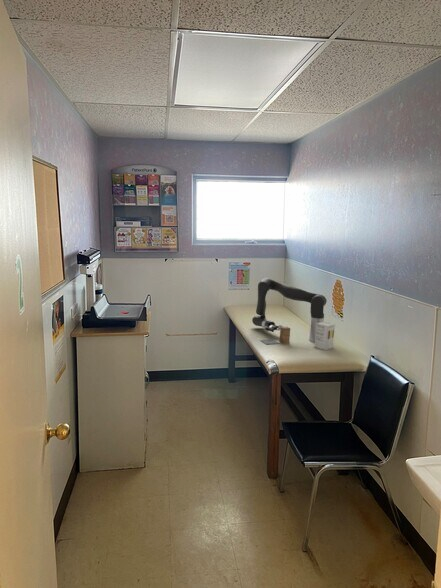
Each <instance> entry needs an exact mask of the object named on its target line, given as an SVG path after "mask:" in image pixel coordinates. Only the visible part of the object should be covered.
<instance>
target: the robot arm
mask: <svg viewBox="0 0 441 588" xmlns="http://www.w3.org/2000/svg"><path fill="white" fill-rule="evenodd" d="M270 290H272V291H276V292H277V293H279V294H281V295H282V296H283V297H284V298H286V299H289V300H292V301H296V302H297V301H298V302H306V303H309V304H310V323H309V336H308V340H309V341H310V342H312V343H313V342H314V343H315V336H316V324H317V323H321V322H325V321H324V320H325V313H324V308H325V307H324V306H326V304H327V302H328V301H327V297H326V296H324V295H323V294H318V293H313V292H309V291H306V290H304V289H301V288H297V287H295V286H292V285H288V284H285V283H281V282H279V281H276V280H274V279H271V278H269V277H264V278H262V279H261V281H259V282H258V285H257V302H256V303H257V304H256V310H255V312H256V315H254V316H253V317H252V319H251V322H252V324H253V325H254V326H258V327H262V328H263V330H265V331H266V332H272V333H274V332H275V331H280V327H285V326H284V325H281V324H279V325H278V324H276V322H274V321H272V320H270V319H267V318H266V308H267V300H266V297H267V294H268V292H269V291H270Z"/></svg>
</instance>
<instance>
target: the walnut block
mask: <svg viewBox="0 0 441 588" xmlns="http://www.w3.org/2000/svg"><path fill="white" fill-rule="evenodd" d="M279 331H280V333H279V343H281V344H283V345H288V344H290V340H291V339H290V338H291V337H290V335H291V327H288V326H284V327H280V330H279Z"/></svg>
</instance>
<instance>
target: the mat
mask: <svg viewBox="0 0 441 588" xmlns="http://www.w3.org/2000/svg"><path fill="white" fill-rule="evenodd" d="M260 342H262V343H263V344H265V345H279V344H280V341H277V340H275V339H273V338H270V339H260Z"/></svg>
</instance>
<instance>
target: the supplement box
mask: <svg viewBox="0 0 441 588" xmlns="http://www.w3.org/2000/svg"><path fill="white" fill-rule="evenodd" d="M335 328H336V323H331V322H327V321H324V322H321V323H317V324H316V336H315V342H314V347H315V348H318V349H320V350H324V351H327V350H330V349H333V348H334V341H335V340H334V339H335Z"/></svg>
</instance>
